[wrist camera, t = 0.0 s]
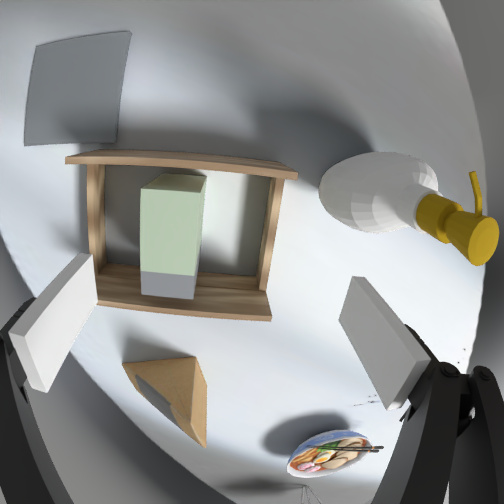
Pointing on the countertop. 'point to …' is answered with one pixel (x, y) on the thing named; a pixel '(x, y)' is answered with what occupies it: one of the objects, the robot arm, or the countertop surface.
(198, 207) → the capped box
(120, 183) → the countertop surface
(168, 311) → the wooden display shelf
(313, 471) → the ramen bowl
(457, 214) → the soap bottle
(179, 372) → the sandwich container
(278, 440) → the countertop surface
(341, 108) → the countertop surface
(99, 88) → the slate mat
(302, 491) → the flower bouquet
